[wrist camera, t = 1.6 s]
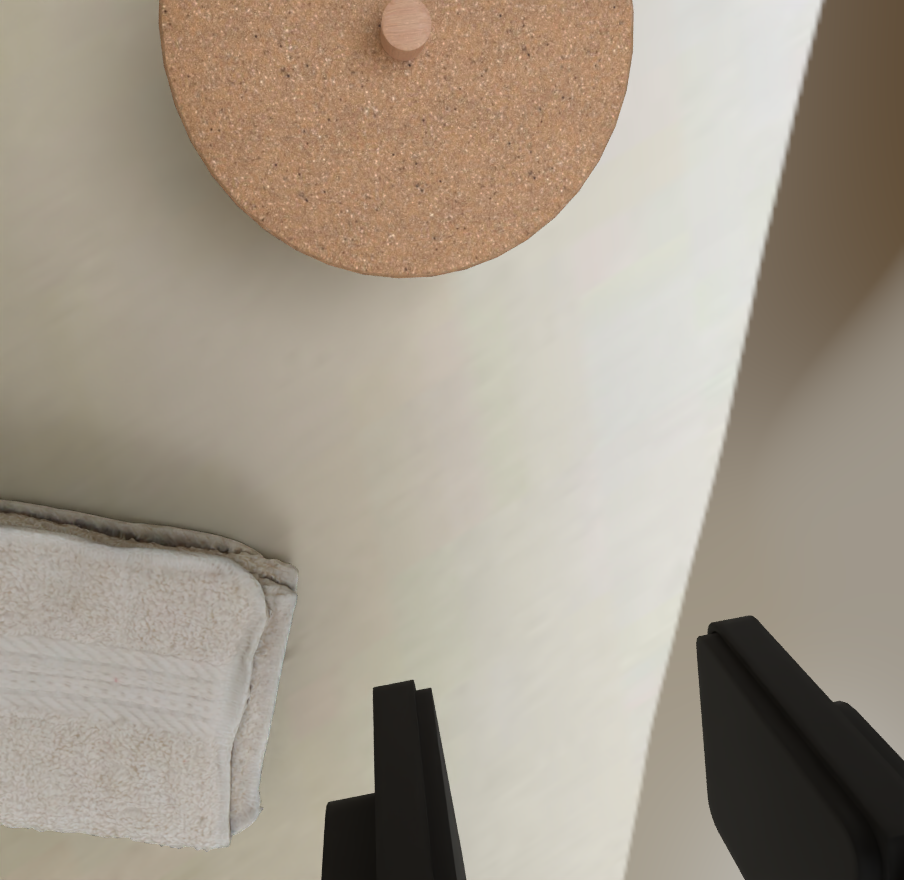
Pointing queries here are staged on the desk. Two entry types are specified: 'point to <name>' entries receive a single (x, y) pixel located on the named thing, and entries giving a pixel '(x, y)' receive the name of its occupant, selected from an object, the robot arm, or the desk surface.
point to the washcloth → (135, 676)
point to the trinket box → (399, 118)
